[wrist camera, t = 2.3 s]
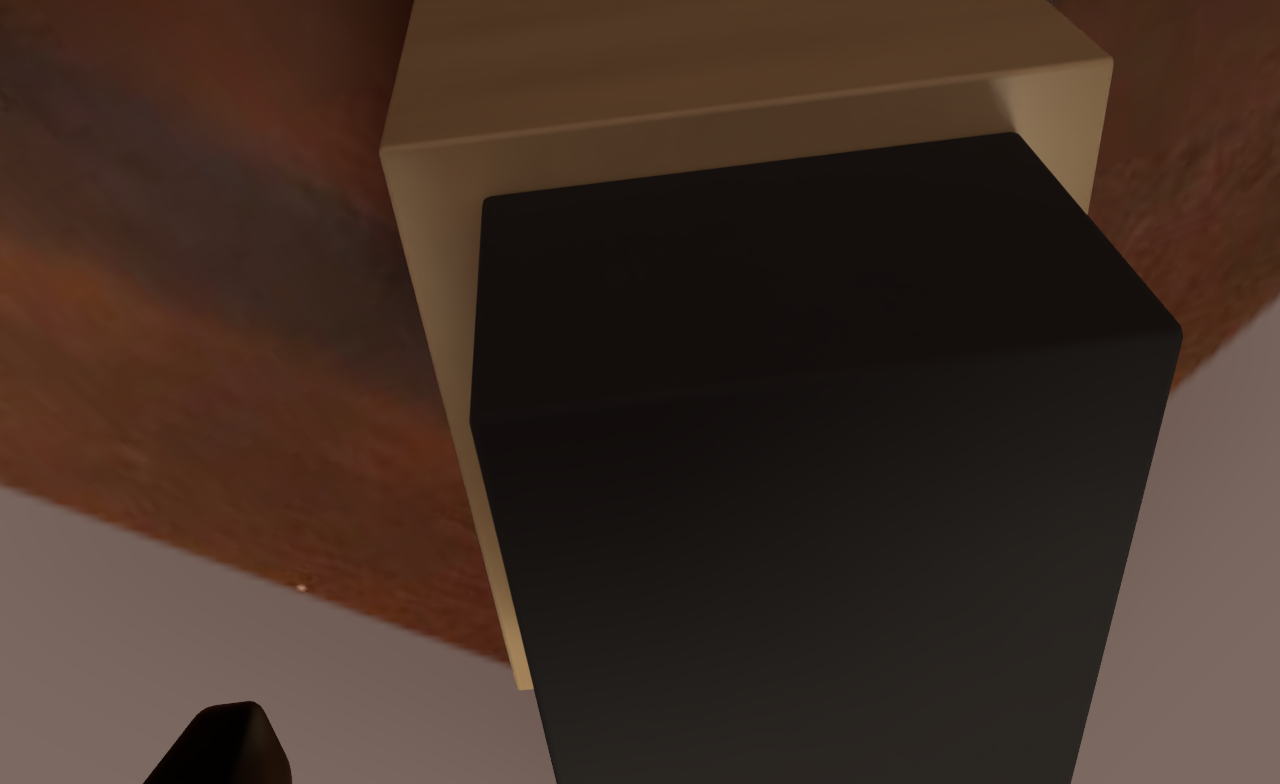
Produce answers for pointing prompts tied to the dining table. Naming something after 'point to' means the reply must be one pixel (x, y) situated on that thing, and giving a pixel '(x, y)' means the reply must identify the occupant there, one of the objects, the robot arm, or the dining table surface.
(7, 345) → the dining table surface
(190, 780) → the robot arm
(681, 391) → the black rectangular block
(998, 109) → the stand
